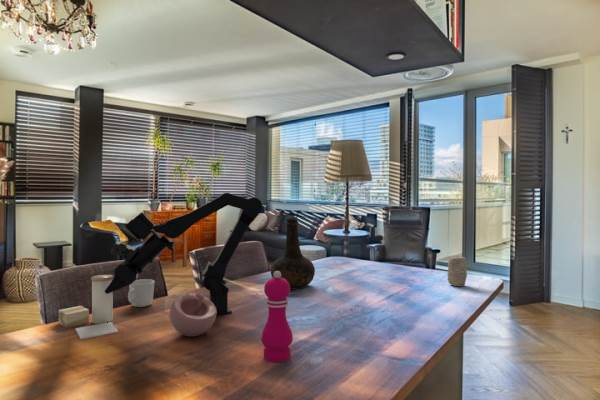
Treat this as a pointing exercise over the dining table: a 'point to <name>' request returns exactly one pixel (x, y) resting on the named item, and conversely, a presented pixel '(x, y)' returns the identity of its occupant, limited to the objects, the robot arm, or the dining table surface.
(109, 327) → the mat
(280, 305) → the pepper mill
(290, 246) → the dark brown vase
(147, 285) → the cup
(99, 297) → the tumbler
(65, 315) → the oak block
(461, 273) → the carving
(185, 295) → the mortar and pestle
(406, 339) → the dining table surface
